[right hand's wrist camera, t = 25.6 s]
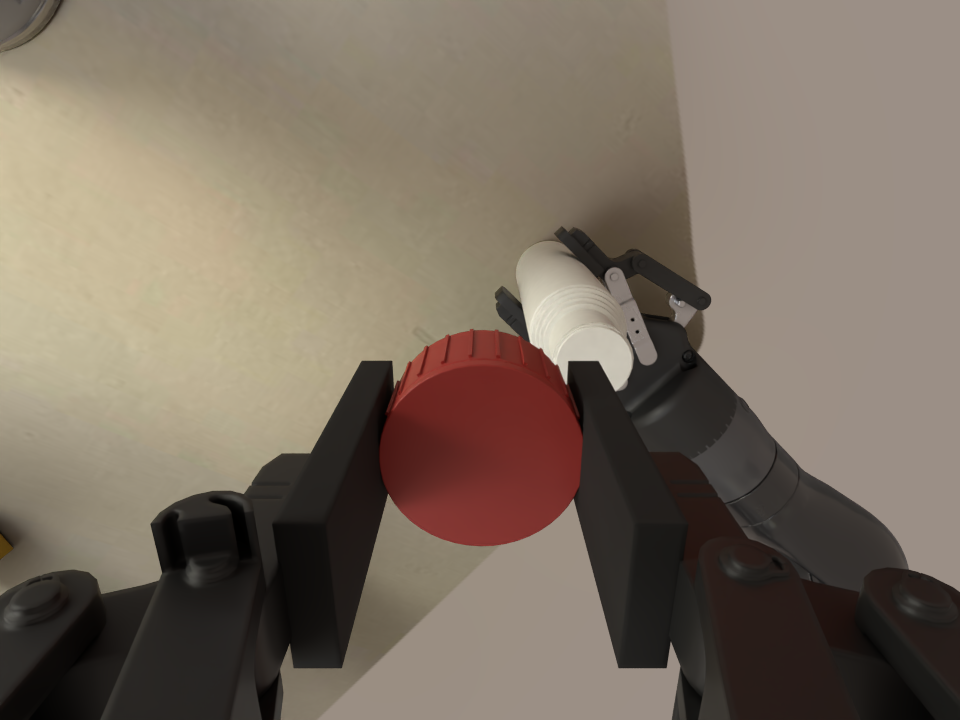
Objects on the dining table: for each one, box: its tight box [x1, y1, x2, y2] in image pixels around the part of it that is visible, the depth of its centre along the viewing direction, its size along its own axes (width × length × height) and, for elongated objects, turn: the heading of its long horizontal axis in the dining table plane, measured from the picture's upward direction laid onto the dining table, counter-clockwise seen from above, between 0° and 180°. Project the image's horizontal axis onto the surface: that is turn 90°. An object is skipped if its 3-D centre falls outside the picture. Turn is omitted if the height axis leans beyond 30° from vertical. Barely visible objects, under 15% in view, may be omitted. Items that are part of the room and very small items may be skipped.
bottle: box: [516, 241, 634, 391], centre depth 34 cm, size 5×5×21 cm
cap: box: [379, 329, 583, 546], centre depth 13 cm, size 5×4×2 cm
